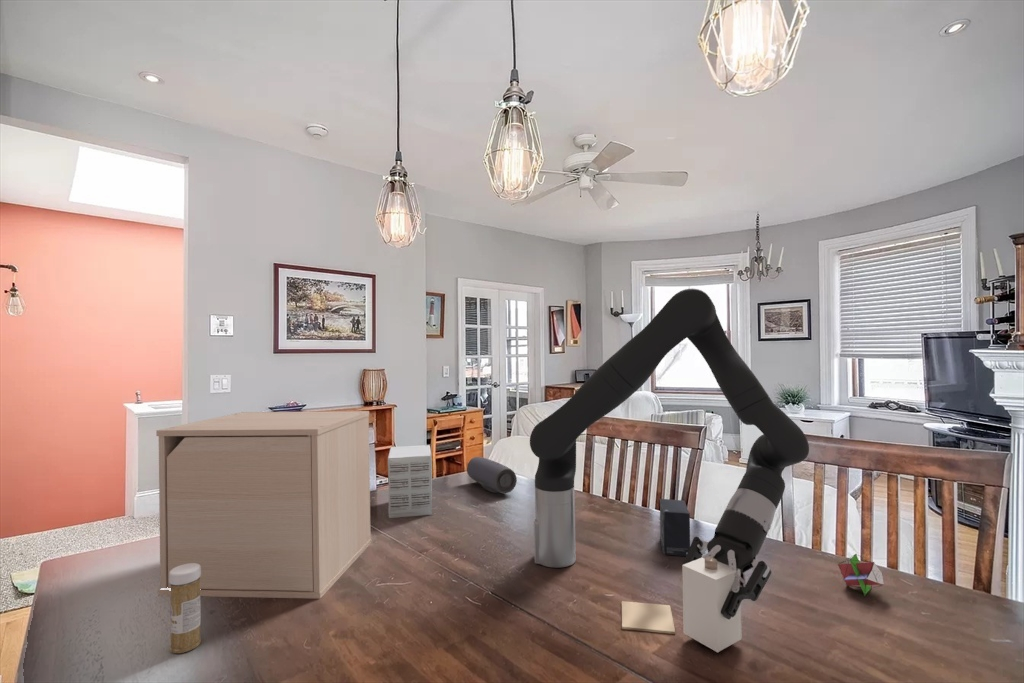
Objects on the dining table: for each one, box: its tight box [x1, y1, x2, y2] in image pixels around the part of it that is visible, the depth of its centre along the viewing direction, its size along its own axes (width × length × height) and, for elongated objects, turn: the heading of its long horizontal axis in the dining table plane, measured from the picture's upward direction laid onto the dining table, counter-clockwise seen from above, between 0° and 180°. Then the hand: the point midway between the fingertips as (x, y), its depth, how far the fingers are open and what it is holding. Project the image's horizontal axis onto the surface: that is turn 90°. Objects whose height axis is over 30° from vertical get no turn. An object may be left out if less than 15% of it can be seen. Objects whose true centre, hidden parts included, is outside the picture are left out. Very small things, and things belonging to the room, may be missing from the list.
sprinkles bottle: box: [169, 563, 202, 654], centre depth 85 cm, size 5×5×13 cm
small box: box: [659, 498, 691, 557], centre depth 123 cm, size 11×6×10 cm, turn 168°
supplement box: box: [387, 444, 433, 519], centre depth 158 cm, size 17×13×18 cm
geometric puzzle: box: [837, 553, 885, 596], centre depth 100 cm, size 7×7×8 cm
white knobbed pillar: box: [681, 557, 743, 653], centre depth 84 cm, size 6×6×13 cm
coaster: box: [621, 600, 676, 635], centre depth 92 cm, size 9×9×1 cm
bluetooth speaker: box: [466, 456, 518, 494], centre depth 177 cm, size 23×9×10 cm, turn 30°
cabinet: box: [156, 410, 372, 600], centre depth 117 cm, size 35×29×34 cm
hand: (705, 606), depth 83 cm, fingers closed on white knobbed pillar, 6 cm apart
